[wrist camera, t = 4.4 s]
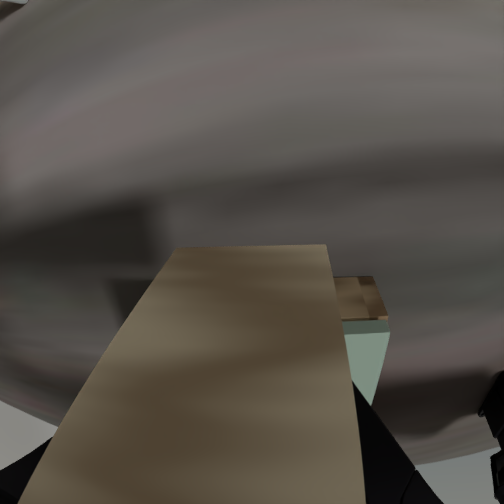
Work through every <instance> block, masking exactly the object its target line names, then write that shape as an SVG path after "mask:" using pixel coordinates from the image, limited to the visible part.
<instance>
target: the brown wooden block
mask: <svg viewBox="0 0 504 504" xmlns="http://www.w3.org/2000/svg"><path fill="white" fill-rule="evenodd" d="M18 504H366V501H365V488H364V476H363V465H362V455H361V446H360V437H359V429H358V421H357V413H356V406H355V399H354V392H353V385H352V378H351V372H350V366H349V360H348V354H347V348H346V342H345V336H344V331H343V325H342V320H341V315H340V309H339V304H338V299H337V294H336V289H335V285H334V280H333V275H332V270H331V266H330V261H329V257H328V252H327V248H326V245H276V246H231V247H189V248H176V249H175V251H174V252H173V254H172V255H171V256H170V258H169V259H168V260H167V262H166V263H165V265H164V266H163V267H162V269H161V270H160V272H159V273H158V274H157V276H156V277H155V279H154V280H153V281H152V283H151V284H150V286H149V287H148V289H147V290H146V291H145V293H144V294H143V296H142V297H141V299H140V300H139V301H138V303H137V304H136V306H135V307H134V309H133V310H132V312H131V313H130V315H129V316H128V318H127V319H126V321H125V322H124V323H123V325H122V326H121V328H120V329H119V331H118V332H117V334H116V335H115V337H114V339H113V340H112V342H111V343H110V345H109V346H108V348H107V349H106V351H105V352H104V354H103V355H102V357H101V359H100V360H99V362H98V363H97V365H96V366H95V368H94V370H93V371H92V373H91V374H90V376H89V377H88V379H87V381H86V382H85V384H84V386H83V387H82V389H81V390H80V392H79V394H78V395H77V397H76V399H75V400H74V402H73V404H72V405H71V407H70V409H69V410H68V412H67V414H66V415H65V417H64V419H63V420H62V422H61V424H60V426H59V427H58V429H57V431H56V433H55V434H54V436H53V438H52V440H51V441H50V443H49V445H48V447H47V449H46V450H45V452H44V454H43V456H42V458H41V459H40V461H39V463H38V465H37V467H36V469H35V471H34V473H33V474H32V476H31V478H30V480H29V482H28V484H27V486H26V488H25V490H24V492H23V494H22V496H21V498H20V500H19V502H18Z"/></svg>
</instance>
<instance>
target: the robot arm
mask: <svg viewBox="0 0 504 504" xmlns="http://www.w3.org/2000/svg"><path fill="white" fill-rule="evenodd" d="M352 385H353V392H354V399H355V406H356V413H357V421H358V429H359V437H360V446H361V455H362V465H363V476H364V488H365V501H366V504H444V503H443V502H442V501H441V500H440V499H439V498H438V497H437V496H436V494H435V493H434V492H433V491H432V489H431V488H430V487H429V485H428V484H427V483H426V481H425V480H424V479H423V477H422V476H421V475H420V473H419V472H418V470H415V466H414V465H413V464H412V462H411V461H410V459H409V458H408V457H407V455H406V454H405V452H404V451H403V450H402V448H401V447H400V446H399V444H398V443H397V441H396V440H395V439H394V437H393V436H392V434H391V433H390V432H389V430H388V429H387V428H386V426H385V425H384V423H383V422H382V421H381V419H380V418H379V417H378V415H377V414H376V412H375V411H374V410H373V408H372V407H371V405H370V404H369V403H368V401H367V400H366V399H365V397H364V396H363V394H362V393H361V392H360V390H359V389H358V388H357V386H356V385H355V383H354V382H353V381H352ZM478 416H479V417H483V416H485V417H486V419H487V422H488V424H489V427H490V429H491V432H492V435H493V437H494V438H497V439H498V442H499V445H500V447H501V450H500V451H499V452H498V453H496V454H493V455H492V456H491V457H490V459H491V471H492V478H493V486H494V497H495V499H497V500H498V501H499V503H500V504H504V372H503V373H502V374H500V376H499V377H498V379H497V381H496V383H495V385H494V386H493V388H492V390H491V392H490V393H489V395H488V397H487V399H486V400H485V402H484V404H483V405H482V407H481V409H480V410H479V412H478ZM52 438H53V437H51V438H50V439H49V440H47V441H46V442H45V443H43V444H42V445H40V446H39V447H38V448H36V449H35V450H33V451H32V452H31V453H29V454H27V455H26V456H24V457H22V458H21V459H19V460H18V461H16V462H15V463H12V464H11V465H9V466H7V467H5V468H4V469H2V470H0V504H18V502H19V500H20V498H21V496H22V494H23V492H24V490H25V488H26V486H27V484H28V482H29V480H30V478H31V476H32V474H33V473H34V471H35V469H36V467H37V465H38V463H39V461H40V459H41V458H42V456H43V454H44V452H45V450H46V449H47V447H48V445H49V443H50V441H51V440H52Z"/></svg>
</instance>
